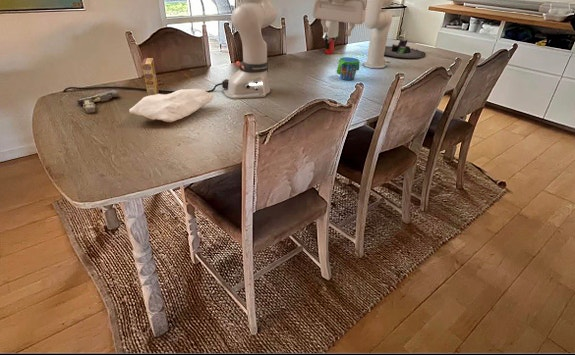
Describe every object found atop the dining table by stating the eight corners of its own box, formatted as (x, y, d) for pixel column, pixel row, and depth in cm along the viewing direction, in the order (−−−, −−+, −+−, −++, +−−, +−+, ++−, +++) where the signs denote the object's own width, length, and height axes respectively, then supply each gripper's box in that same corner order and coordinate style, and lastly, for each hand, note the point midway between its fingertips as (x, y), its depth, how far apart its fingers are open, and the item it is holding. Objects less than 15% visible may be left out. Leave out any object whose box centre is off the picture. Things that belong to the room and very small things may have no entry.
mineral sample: (436, 54, 249) (439, 40, 244) (402, 60, 231) (404, 45, 227) (396, 47, 273) (398, 34, 269) (363, 52, 256) (364, 38, 252)
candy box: (157, 97, 164) (152, 63, 155) (147, 98, 163) (141, 63, 155) (158, 91, 171) (153, 57, 163) (149, 91, 170) (143, 58, 162)
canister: (328, 54, 241) (330, 41, 237) (323, 52, 245) (325, 39, 240) (334, 53, 244) (336, 40, 239) (329, 51, 247) (331, 38, 243)
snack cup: (351, 73, 205) (353, 55, 200) (364, 79, 198) (367, 60, 193) (329, 77, 198) (331, 58, 192) (342, 83, 191) (344, 63, 185)
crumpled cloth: (117, 110, 146) (113, 90, 140) (195, 92, 166) (194, 73, 160) (143, 139, 134) (140, 118, 128) (223, 116, 154) (224, 96, 148)
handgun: (128, 97, 156) (111, 87, 164) (86, 107, 144) (70, 97, 152) (129, 103, 157) (113, 94, 165) (88, 114, 146) (72, 103, 154)
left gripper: (371, -5, 128) (365, 36, 136) (320, -10, 137) (317, 29, 145) (364, -3, 124) (358, 39, 131) (312, -9, 133) (309, 31, 140)
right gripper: (337, 16, 240) (334, 45, 250) (319, 19, 230) (316, 48, 240) (345, 18, 235) (342, 47, 245) (327, 21, 225) (325, 51, 235)
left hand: (336, 33), depth 138 cm, fingers open, 8 cm apart
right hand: (329, 47), depth 242 cm, fingers closed on canister, 5 cm apart
